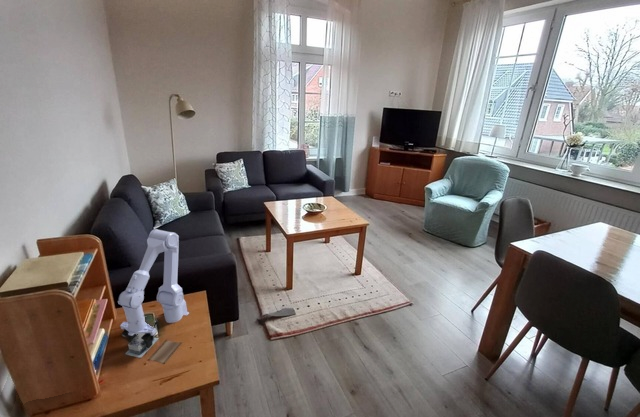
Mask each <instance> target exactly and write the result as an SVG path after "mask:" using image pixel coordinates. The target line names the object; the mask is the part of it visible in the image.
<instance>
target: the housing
mask: <svg viewBox="0 0 640 417" xmlns="http://www.w3.org/2000/svg"><path fill="white" fill-rule="evenodd" d="M144 334H145V333H142V334H138V335H137V336H136V337H135V338H134V339H133V340H132V341H131V342H130V341H129V342H128V344H127V346H128V350H130V353H133V354H137V355H141V354H142V353H143V351H144V350H145V349H146V348H147V347H146V344H145V342H144V340H143V339H141V337H142V336H143V335H144ZM154 338H155V337H153V341H154Z"/></svg>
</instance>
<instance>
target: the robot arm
mask: <svg viewBox="0 0 640 417" xmlns="http://www.w3.org/2000/svg"><path fill="white" fill-rule="evenodd" d="M179 238H180V236H179V235H178V233H176V232H173V231H168V230H167V231H166V230H162V229H157V228H154V229H152V230H151V231H150V233H149V234H148V237H147V240H146V243H147V248H146V249H145V253H144V254H143V255H144V256H143V257H142V261H141V264H140V266H139V269H138V270H136V271H134V272H133V274H132V276H131V278H130V280H129V283H128V285H127V287H126V288H125V290H124V291H122V292H121V293H120V294H119V296H118V300H117V303H118V305H120V306H122V309H123V310H124V315H125V317H126V321H122V323H121V324H120V325H119V326H120V329H121V330H123V331H122V332H121V336H122V335H124V336H125V337H124V336H123V337H124V338H127V339H128V341H129V343H130V342H131V341H132V340H133V339H134V338H135V337H136V336H137V334H142V333H145V334H144V335H143V336H142V337H141V339H143V340H144V342H145V344H146V347H147V348H150V347H151V345H152V342H153V337H154V336H155V334H156V333H157V328H156V327H154V326H153V327H152V326H150V325H149V324H147V323H146V322H145V317H146V316H145V313H144V309H143V305H142V304H143V301H144V299H145V296H144V295H145V288H146V286H147V284H148V282H149V280H150V270H151V268H152V266H153V265H154V263H155V261H156V259H157V257H158V256H159V254H162V253H163V252H164V261H163V284H162V285H161V286H160V287H158V292H157V294H156V301H157V302H158V303H160V305H161V306H162V310H163V315H164V321H165V322H166V323H168V324H172V323H177V322H179V321H180V320H181V319H183V316H188V315H189V314H190V312H189V311H188V307H187V302H186V300H185V298H184V297H185V296H184V292H183V287H181V286H180V285H179V284H178V276H179V275H178V272H179V271H178V270H179V269H178V268H179V249H180V248H179V246H180V245H179V244H180V243H179V242H180V240H179ZM154 338H155V337H154ZM152 346H153V345H152ZM150 349H151V348H150Z"/></svg>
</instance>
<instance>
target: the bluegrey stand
mask: <svg viewBox="0 0 640 417" xmlns="http://www.w3.org/2000/svg"><path fill="white" fill-rule="evenodd" d="M158 340H159V337H154V341H153V342H152V345H151V347H152V346H154V344H156V343H157V342H158ZM151 347H150V348H146V349H145V350H144V351H143V353H142V354H141V355H137V354H133V353H130V350H129V349H128V350H127V351H126V352H125V354H124V355H127V356H131V357H135V358H139V359H142V357H143V356H144V355H145V354H146V353H147V352H148V351H149V350H150V349H151Z"/></svg>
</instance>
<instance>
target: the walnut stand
mask: <svg viewBox="0 0 640 417" xmlns="http://www.w3.org/2000/svg"><path fill="white" fill-rule="evenodd" d="M181 344H182V342H177V341H171V340H168V339H165V340H164V341H163V342H162V343H161V345H159V347H158V348H157V349H156V350H155V351H154V353H152V355H150V356H149V358H148V360H149V361H153V362H157V363H161V364H166V363H167V361H168V360H170V358H171V357H172V355H173V354H174V353H175V352H176V350H177V349H178V348H179V347H180V346H181Z"/></svg>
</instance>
